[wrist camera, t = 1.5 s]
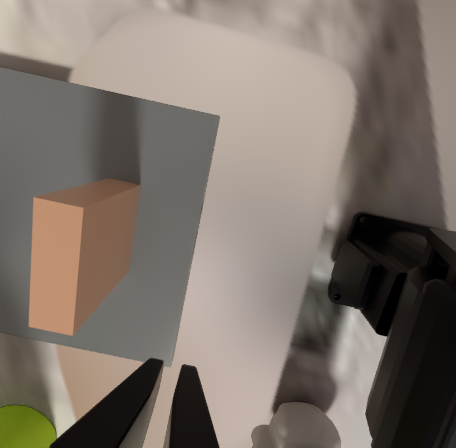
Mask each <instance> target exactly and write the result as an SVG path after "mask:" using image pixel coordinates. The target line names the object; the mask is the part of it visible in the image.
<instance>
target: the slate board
mask: <svg viewBox="0 0 456 448" xmlns="http://www.w3.org/2000/svg"><path fill="white" fill-rule="evenodd" d="M219 119H220V116H217V115H212V114H208V113H204V112H199V111H195V110H190V109H186V108H181V107H177V106H172V105H168V104H163V103H159V102H155V101H150V100H145V99H141V98H137V97H132V96H127V95H123V94H118V93H114V92H110V91H105V90H101V89H96V88H92V87H87V86H83V85H78V84H74V83H69V82H65V81H60V80H56V79H51V78H47V77H42V76H38V75H33V74H29V73H24V72H20V71H15V70H11V69H6V68H2V67H0V333H5V334H10V335H15V336H20V337H25V338H30V339H35V340H39V341H44V342H49V343H54V344H59V345H64V346H69V347H74V348H79V349H83V350H89V351H94V352H98V353H104V354H108V355H113V356H118V357H123V358H128V359H133V360H137V361H142V362H146V361H147V360H148V359H149V358H156V359H161V360H163V361H164V366H167V367H171V364H172V361H173V357H174V351H175V346H176V341H177V336H178V331H179V326H180V320H181V315H182V310H183V305H184V300H185V295H186V290H187V284H188V279H189V274H190V268H191V264H192V259H193V254H194V248H195V243H196V238H197V233H198V228H199V223H200V217H201V212H202V207H203V202H204V197H205V192H206V187H207V182H208V176H209V171H210V166H211V161H212V155H213V151H214V145H215V140H216V135H217V130H218V125H219ZM108 178H111V179H116V180H120V181H125V182H129V183H134V184H139V185H141V186H140V193H139V201H138V208H137V215H136V223H135V230H134V238H133V245H132V253H131V260H130V268H129V272H128V273H127V274H126V275H125V276H124V278H123V279H122V280H121V281H120V282H119V283H118V285H117V286H116V287H115V288H114V289H113V290H112V291H111V293H110V294H109V295H108V296H107V297H106V298H105V299H104V301H103V302H102V303H101V304H100V305H99V306H98V307H97V309H96V310H95V311H94V312H93V313H92V314H91V315H90V317H89V318H88V319H87V320H86V321H85V322H84V323H83V325H82V326H81V327H80V328H79V329H78V330H77V331H76V333H75V334H74V335H73V336H71V335H66V334H62V333H57V332H52V331H47V330H42V329H37V328H32V327H29V303H30V277H31V251H32V225H33V198H34V197H36V196H40V195H44V194H48V193H52V192H56V191H60V190H64V189H68V188H72V187H76V186H80V185H84V184H88V183H92V182H96V181H100V180H104V179H108Z"/></svg>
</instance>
